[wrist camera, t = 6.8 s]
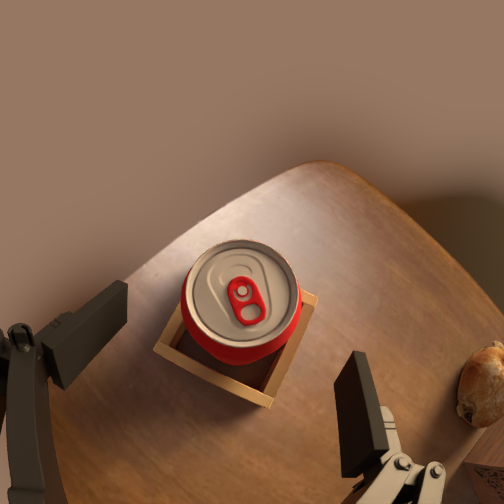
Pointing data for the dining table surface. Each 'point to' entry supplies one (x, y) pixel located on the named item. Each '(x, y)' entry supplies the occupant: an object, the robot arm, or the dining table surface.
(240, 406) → the dining table surface
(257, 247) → the beverage can
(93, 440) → the dining table surface
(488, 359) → the bread roll
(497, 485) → the tissue box cover
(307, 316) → the square wooden frame
